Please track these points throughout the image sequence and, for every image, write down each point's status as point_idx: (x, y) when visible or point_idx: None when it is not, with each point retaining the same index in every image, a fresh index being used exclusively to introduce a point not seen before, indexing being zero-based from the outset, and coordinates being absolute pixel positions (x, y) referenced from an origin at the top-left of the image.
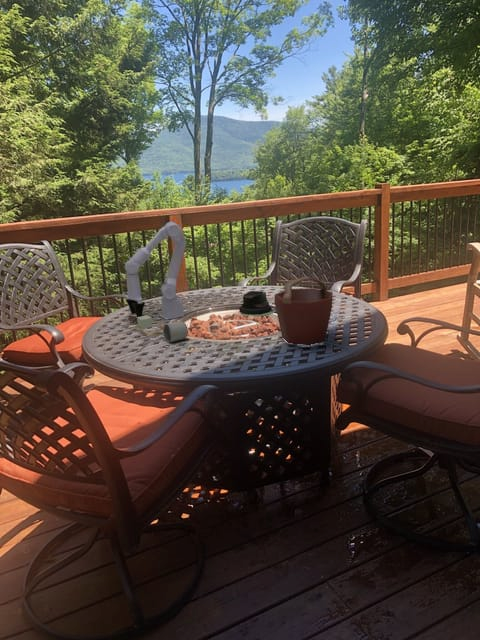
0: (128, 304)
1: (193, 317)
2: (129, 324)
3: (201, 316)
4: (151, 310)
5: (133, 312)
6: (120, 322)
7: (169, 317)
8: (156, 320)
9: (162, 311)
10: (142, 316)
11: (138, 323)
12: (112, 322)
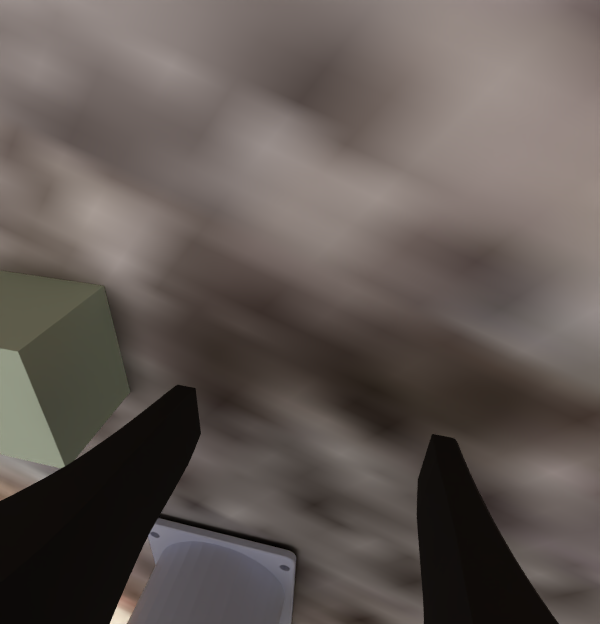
0: (510, 615)
1: (123, 599)
2: (202, 229)
3: (121, 620)
4: (560, 621)
5: (427, 470)
6: (409, 167)
7: (163, 550)
8: (186, 475)
9: (211, 602)
10: (33, 414)
11: (49, 298)
12: (556, 23)
